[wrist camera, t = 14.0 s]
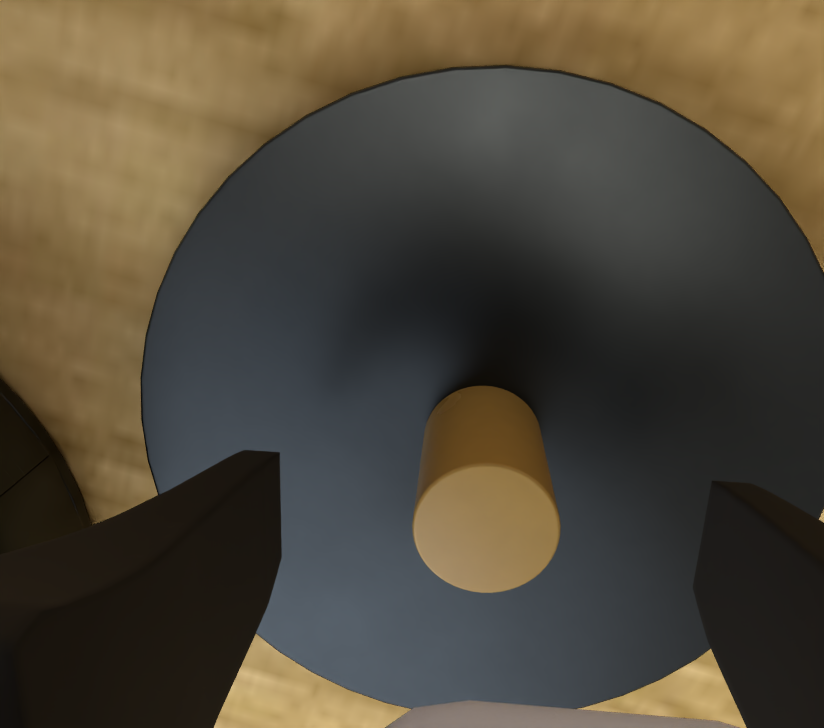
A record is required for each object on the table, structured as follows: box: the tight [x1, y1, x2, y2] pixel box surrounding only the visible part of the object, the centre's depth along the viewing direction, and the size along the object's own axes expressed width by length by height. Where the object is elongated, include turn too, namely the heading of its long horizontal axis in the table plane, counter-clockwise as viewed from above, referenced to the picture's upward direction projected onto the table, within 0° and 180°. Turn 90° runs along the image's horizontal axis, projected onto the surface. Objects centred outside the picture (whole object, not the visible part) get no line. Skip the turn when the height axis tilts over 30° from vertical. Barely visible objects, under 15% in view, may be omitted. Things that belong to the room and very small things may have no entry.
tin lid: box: [141, 65, 824, 709], centre depth 15 cm, size 14×14×5 cm
